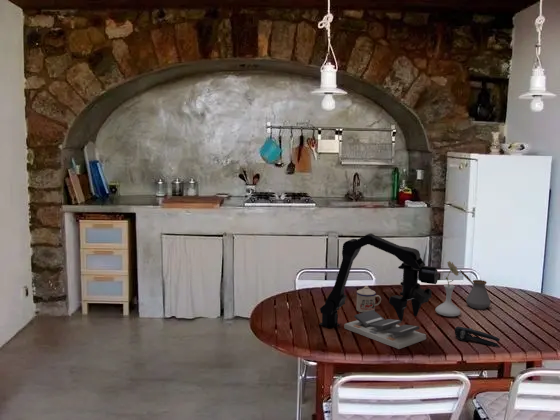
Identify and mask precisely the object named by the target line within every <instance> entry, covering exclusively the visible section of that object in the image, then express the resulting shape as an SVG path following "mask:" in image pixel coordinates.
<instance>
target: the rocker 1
mask: <svg viewBox="0 0 560 420" xmlns="http://www.w3.org/2000/svg"><path fill="white" fill-rule="evenodd" d="M353 318H354V319H356V320H358V321H359V322H361V323H362V324H363V325H364V326H365V327H366V326H369V325H370V324H373V323H377V322H380V321H383V320H386V319H385V318H384V317H382V315H380V314H379V313H378V312H376V311H374V310H371V311H368V312H364V313H362V312H359V313H357V314H354V316H353Z"/></svg>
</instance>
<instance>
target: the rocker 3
mask: <svg viewBox="0 0 560 420" xmlns="http://www.w3.org/2000/svg"><path fill="white" fill-rule="evenodd" d="M419 329H420V326H419V325H410V324H402V325H399V327H396V328H393V329H390V330H387V333H390V334H397V335H403V334H406V333H409V332H411V331H417V330H419Z"/></svg>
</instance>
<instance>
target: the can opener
mask: <svg viewBox="0 0 560 420" xmlns="http://www.w3.org/2000/svg"><path fill="white" fill-rule="evenodd" d="M454 335H455V336H456V338H457V339H459V340H460V341H462V342H463V341H464V342H466V341H467V342H468V341H475V342H478V343H481V344H483V345H486V344H487V345H486V346H490V345H493V346H492V347H495V346H498V347H499V346H500V345H499V344H498V343H497V342H499V341H500V340H501V339H500V338H499V337H497V336H494V335H493V334H489V333H486V332H483V331H480V330H477V329H476V330H475V329H473V327H470V328H468V327H462V326H456V327H455V328H454ZM491 340H492V341H491ZM494 341H495V342H494Z"/></svg>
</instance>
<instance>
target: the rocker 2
mask: <svg viewBox="0 0 560 420" xmlns="http://www.w3.org/2000/svg"><path fill="white" fill-rule="evenodd" d="M402 322H403V321H400V320H399V319H391V318H387V319H385V320H383V321H380V322H377V323H373V324H370V327H374V328H382V329H383V328H386V327H390V326H393V325H399V324H402Z"/></svg>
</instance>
